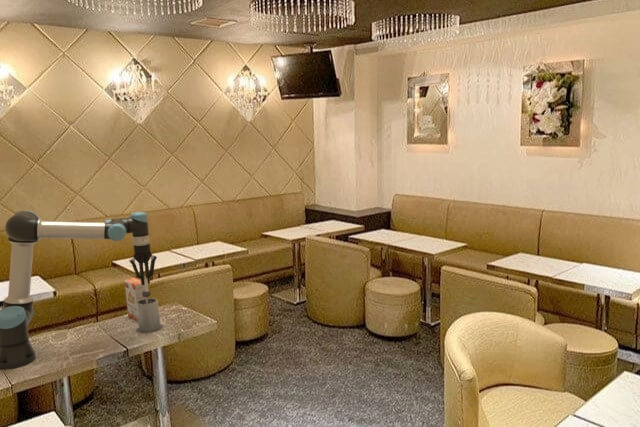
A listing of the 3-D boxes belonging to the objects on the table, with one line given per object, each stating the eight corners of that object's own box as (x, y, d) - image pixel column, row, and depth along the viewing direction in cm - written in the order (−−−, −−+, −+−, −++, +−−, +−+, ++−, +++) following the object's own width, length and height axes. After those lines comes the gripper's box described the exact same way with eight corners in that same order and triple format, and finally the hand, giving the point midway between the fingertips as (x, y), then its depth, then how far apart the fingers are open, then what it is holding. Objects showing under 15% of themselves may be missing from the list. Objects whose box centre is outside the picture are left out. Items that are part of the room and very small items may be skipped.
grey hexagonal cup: (142, 333, 256) (139, 306, 254) (136, 327, 264) (134, 301, 262) (162, 328, 261) (160, 301, 259) (156, 323, 269) (153, 296, 267)
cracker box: (127, 317, 282) (123, 279, 279) (138, 314, 286) (134, 277, 283) (138, 323, 272) (134, 284, 269) (149, 320, 276) (145, 282, 273)
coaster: (140, 337, 254) (140, 335, 254) (132, 329, 265) (132, 327, 264) (166, 330, 261) (166, 329, 261) (158, 323, 272) (158, 321, 272)
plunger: (143, 318, 257) (140, 294, 255) (139, 314, 262) (136, 291, 261) (157, 314, 261) (155, 291, 259) (153, 311, 266) (151, 288, 264)
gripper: (129, 247, 249) (134, 295, 253) (157, 243, 256) (161, 289, 260) (125, 245, 255) (130, 291, 259) (152, 240, 262) (157, 286, 266)
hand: (146, 290), depth 260 cm, fingers closed
